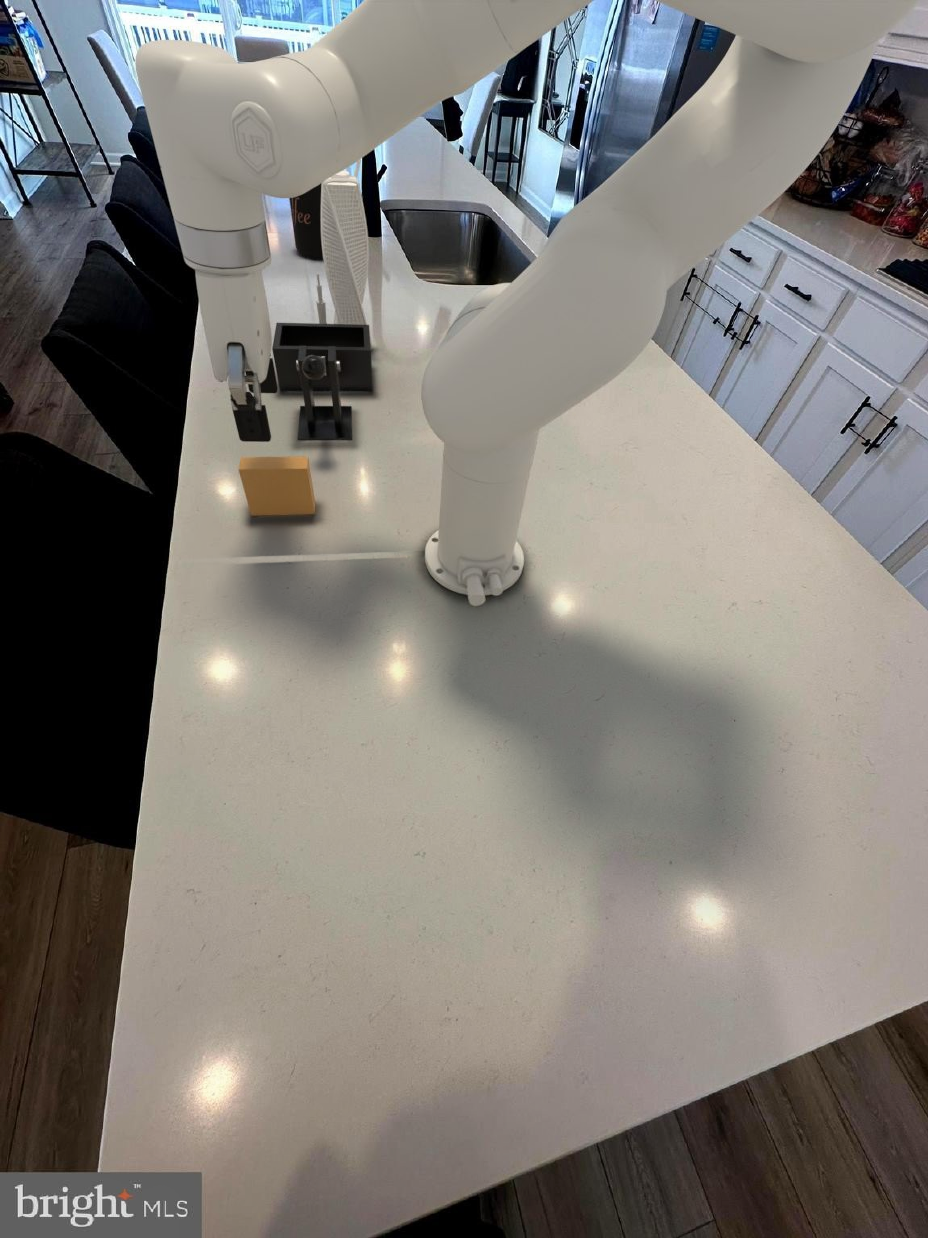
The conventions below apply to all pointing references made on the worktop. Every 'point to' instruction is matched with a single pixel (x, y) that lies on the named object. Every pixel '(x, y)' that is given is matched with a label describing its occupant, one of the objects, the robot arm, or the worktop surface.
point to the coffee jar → (307, 223)
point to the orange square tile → (277, 485)
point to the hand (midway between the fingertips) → (260, 414)
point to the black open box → (324, 354)
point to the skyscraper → (344, 248)
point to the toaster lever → (315, 367)
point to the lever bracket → (323, 418)
